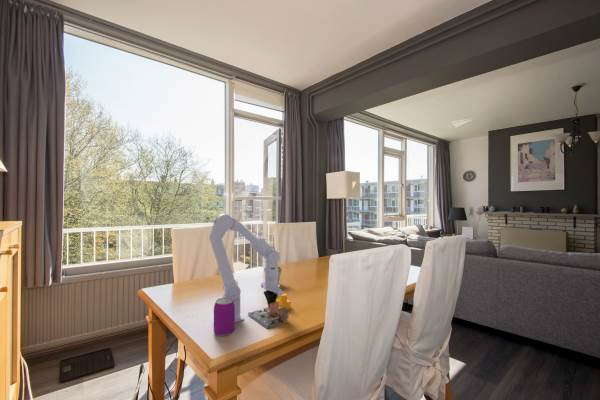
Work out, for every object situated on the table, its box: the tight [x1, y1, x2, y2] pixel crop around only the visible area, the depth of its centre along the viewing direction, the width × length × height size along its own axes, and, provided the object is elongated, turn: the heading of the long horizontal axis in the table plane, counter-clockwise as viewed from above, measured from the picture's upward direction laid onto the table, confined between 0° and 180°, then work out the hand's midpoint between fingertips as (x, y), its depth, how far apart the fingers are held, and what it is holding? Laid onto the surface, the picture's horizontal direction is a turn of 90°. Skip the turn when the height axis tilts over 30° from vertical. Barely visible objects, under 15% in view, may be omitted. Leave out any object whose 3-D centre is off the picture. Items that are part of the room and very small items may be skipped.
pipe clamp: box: [276, 293, 292, 309], centre depth 137 cm, size 12×4×6 cm, turn 24°
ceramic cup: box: [263, 266, 282, 285], centre depth 169 cm, size 13×10×10 cm
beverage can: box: [213, 297, 236, 337], centre depth 109 cm, size 8×8×12 cm
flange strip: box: [247, 309, 282, 330], centre depth 120 cm, size 6×16×2 cm, turn 38°
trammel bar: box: [263, 306, 290, 324], centre depth 121 cm, size 9×15×6 cm, turn 38°
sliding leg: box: [259, 302, 280, 316], centre depth 122 cm, size 9×2×4 cm, turn 128°
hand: (271, 307), depth 125 cm, fingers closed
